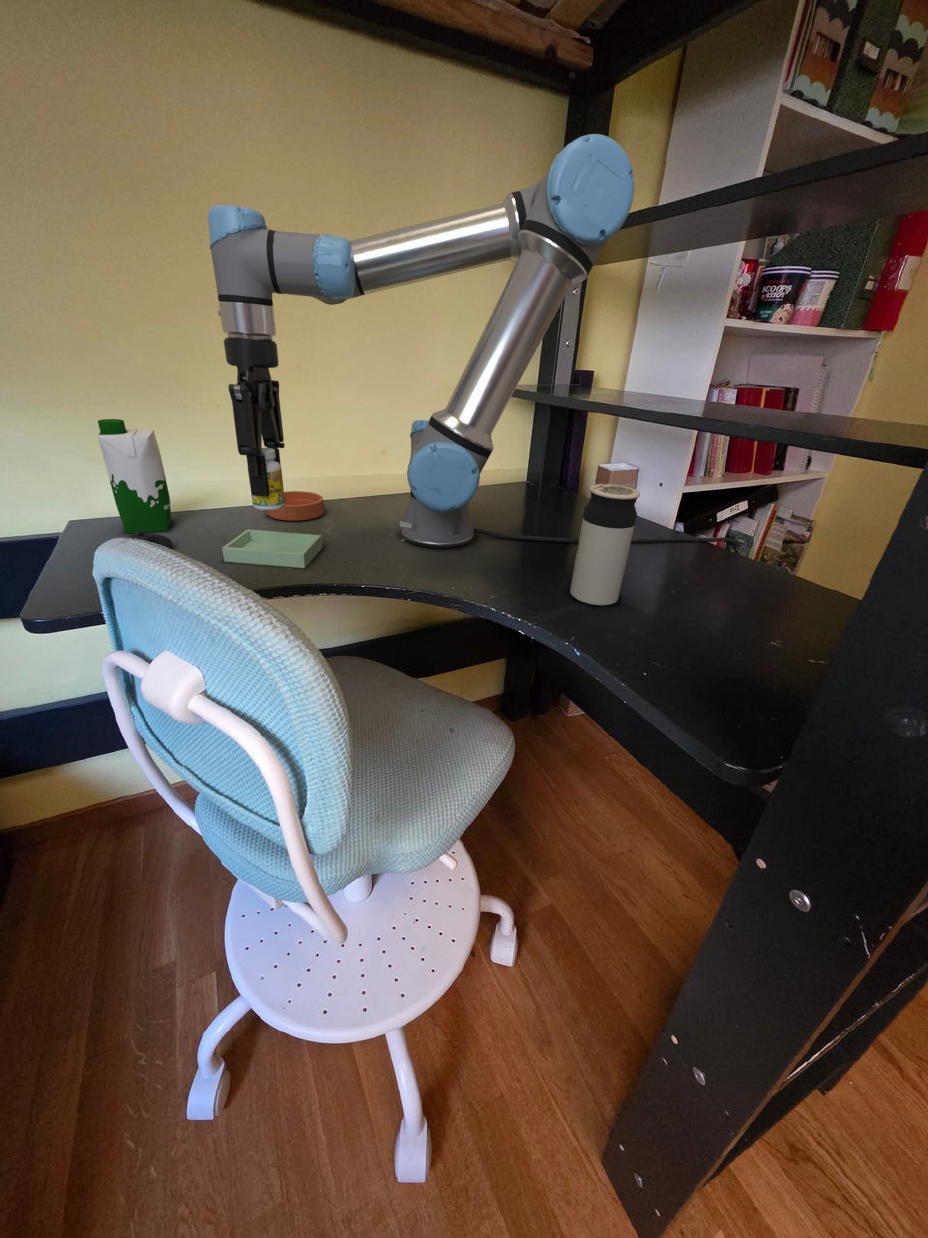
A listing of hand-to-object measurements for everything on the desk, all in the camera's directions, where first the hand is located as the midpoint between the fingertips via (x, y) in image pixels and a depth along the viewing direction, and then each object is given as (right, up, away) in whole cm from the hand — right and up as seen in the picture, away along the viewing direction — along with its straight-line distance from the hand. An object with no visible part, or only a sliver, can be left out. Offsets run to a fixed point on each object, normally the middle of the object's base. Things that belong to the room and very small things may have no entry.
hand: (267, 490), depth 88 cm
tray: (-1, -10, +6) cm, 12 cm away
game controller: (-23, -11, +2) cm, 25 cm away
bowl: (-4, +2, +28) cm, 28 cm away
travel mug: (+56, -19, -2) cm, 59 cm away
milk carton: (-29, -4, +14) cm, 33 cm away
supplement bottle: (0, -3, +1) cm, 3 cm away
